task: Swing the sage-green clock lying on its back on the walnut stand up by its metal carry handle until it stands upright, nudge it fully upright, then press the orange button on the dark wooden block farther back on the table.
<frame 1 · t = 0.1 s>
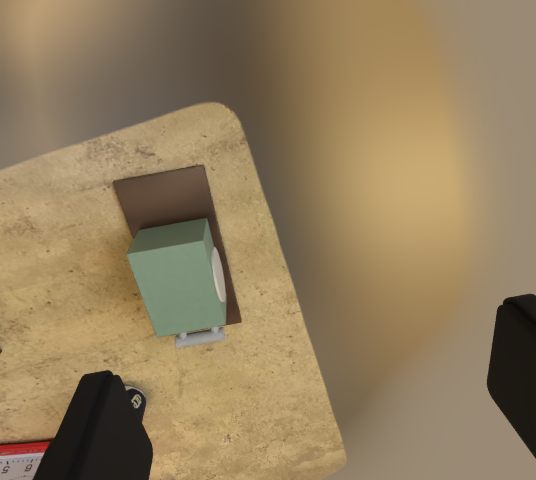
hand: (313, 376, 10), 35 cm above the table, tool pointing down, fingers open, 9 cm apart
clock: (187, 292, 46), point 4 cm above the table, hinge at 88.7°
alarm clock: (43, 456, 63), on the table
clock stand: (184, 257, 48), on the table
beverage can: (127, 394, 58), on the table
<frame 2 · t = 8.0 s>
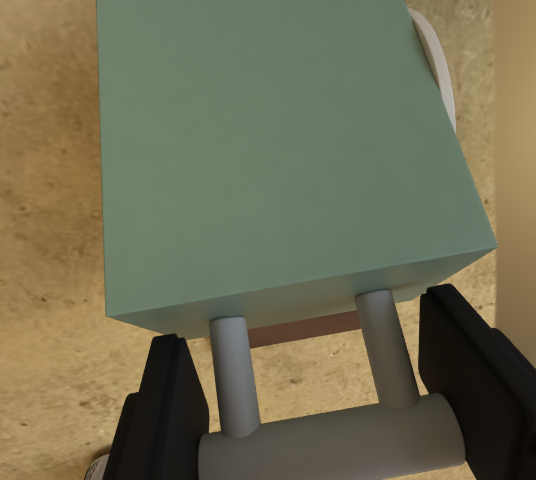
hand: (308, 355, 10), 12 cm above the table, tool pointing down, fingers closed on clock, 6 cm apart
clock: (283, 195, 12), point 8 cm above the table, hinge at 42.6°, touching gripper
clock stand: (266, 172, 20), on the table
beverage can: (129, 464, 30), on the table
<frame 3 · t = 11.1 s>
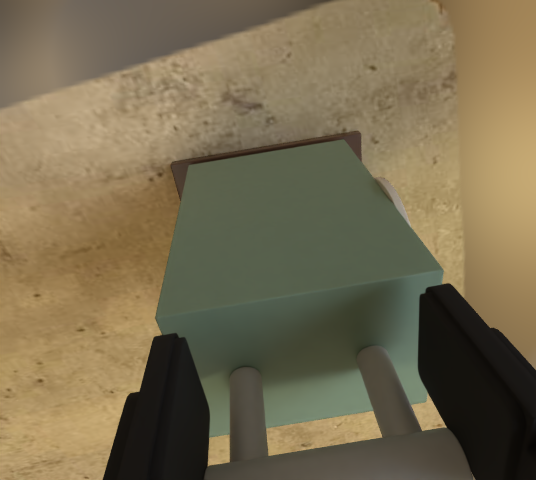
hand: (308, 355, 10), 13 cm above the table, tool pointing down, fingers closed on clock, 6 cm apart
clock: (297, 294, 15), point 8 cm above the table, hinge at 3.7°, touching gripper
clock stand: (289, 307, 26), on the table
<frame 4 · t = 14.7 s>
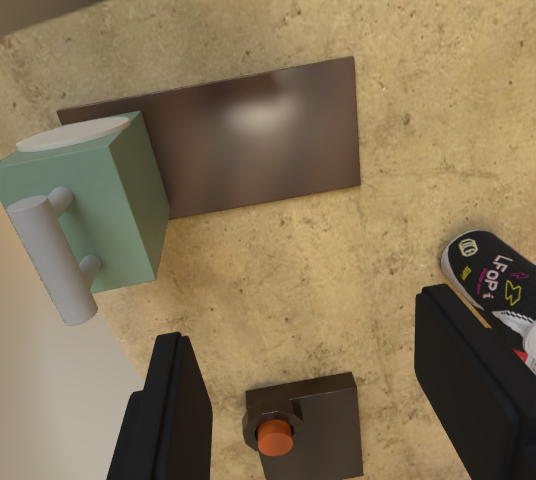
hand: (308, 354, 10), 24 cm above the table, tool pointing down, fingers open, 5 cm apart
button: (274, 437, 41), point 4 cm above the table, slide at 0.1 cm
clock: (93, 204, 24), point 8 cm above the table, hinge at 3.4°
button block: (306, 427, 48), on the table
clock stand: (219, 149, 31), on the table
beverage can: (465, 251, 38), on the table
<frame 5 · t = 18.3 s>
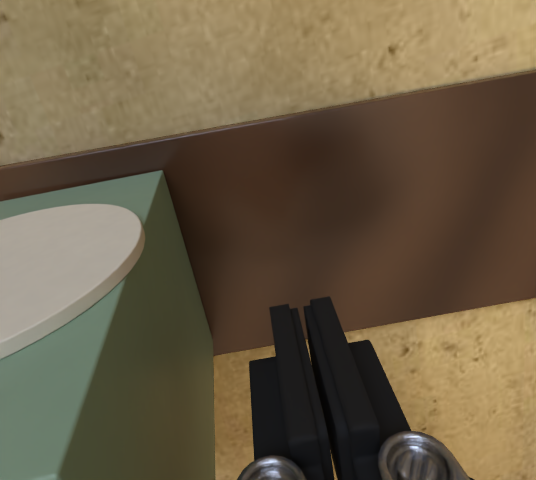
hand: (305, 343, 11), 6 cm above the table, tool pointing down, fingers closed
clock: (42, 461, 9), point 8 cm above the table, hinge at 2.9°, touching gripper
clock stand: (311, 236, 16), on the table
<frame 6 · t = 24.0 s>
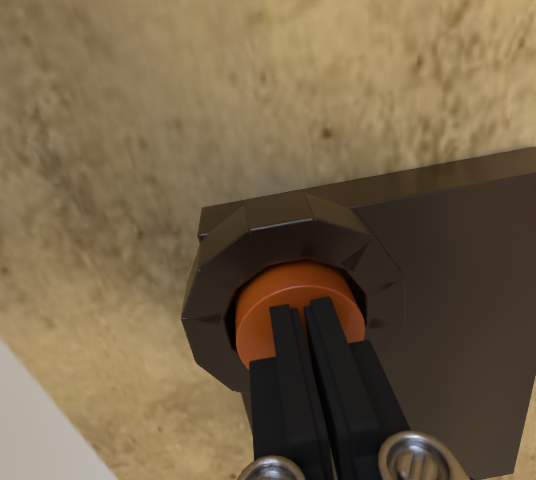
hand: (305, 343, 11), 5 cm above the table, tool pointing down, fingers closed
button: (296, 320, 12), point 4 cm above the table, slide at -0.5 cm, touching gripper
button block: (375, 344, 18), on the table
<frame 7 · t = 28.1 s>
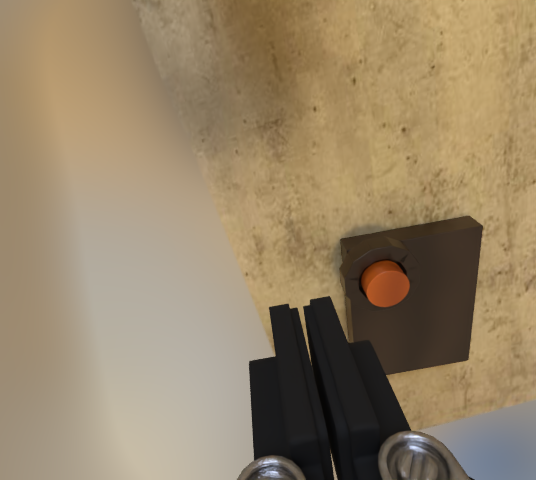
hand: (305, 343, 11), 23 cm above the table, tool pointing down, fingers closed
button: (384, 283, 33), point 4 cm above the table, slide at 0.1 cm
button block: (404, 297, 40), on the table
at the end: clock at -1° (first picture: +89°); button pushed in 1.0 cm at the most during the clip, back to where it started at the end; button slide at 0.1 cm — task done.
